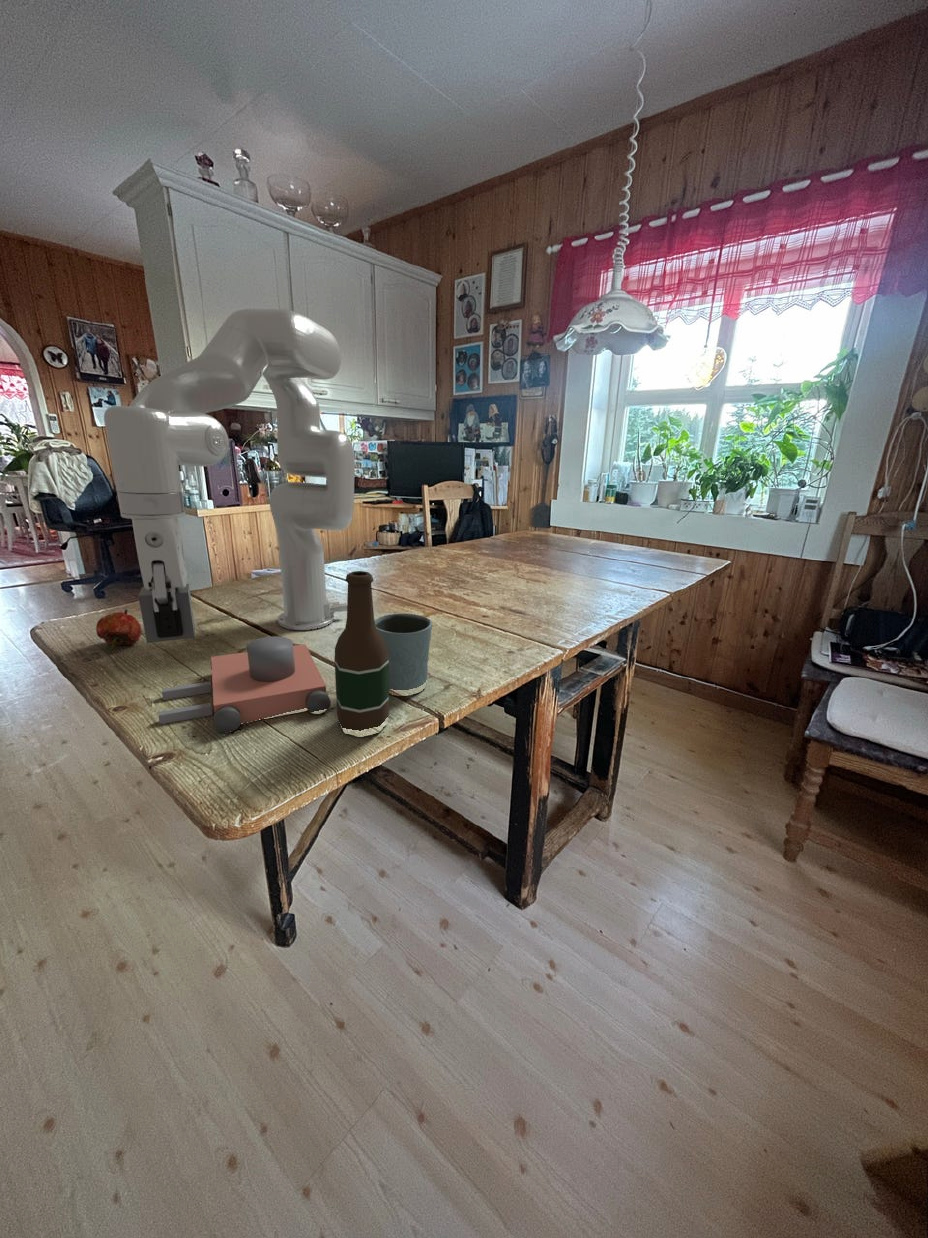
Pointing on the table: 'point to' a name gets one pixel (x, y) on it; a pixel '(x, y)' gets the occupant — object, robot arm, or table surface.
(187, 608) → the dark grey rounded cube
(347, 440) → the robot arm
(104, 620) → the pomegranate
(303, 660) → the toy tractor cart
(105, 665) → the table surface
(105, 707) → the table surface
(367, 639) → the beer bottle
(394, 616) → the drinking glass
